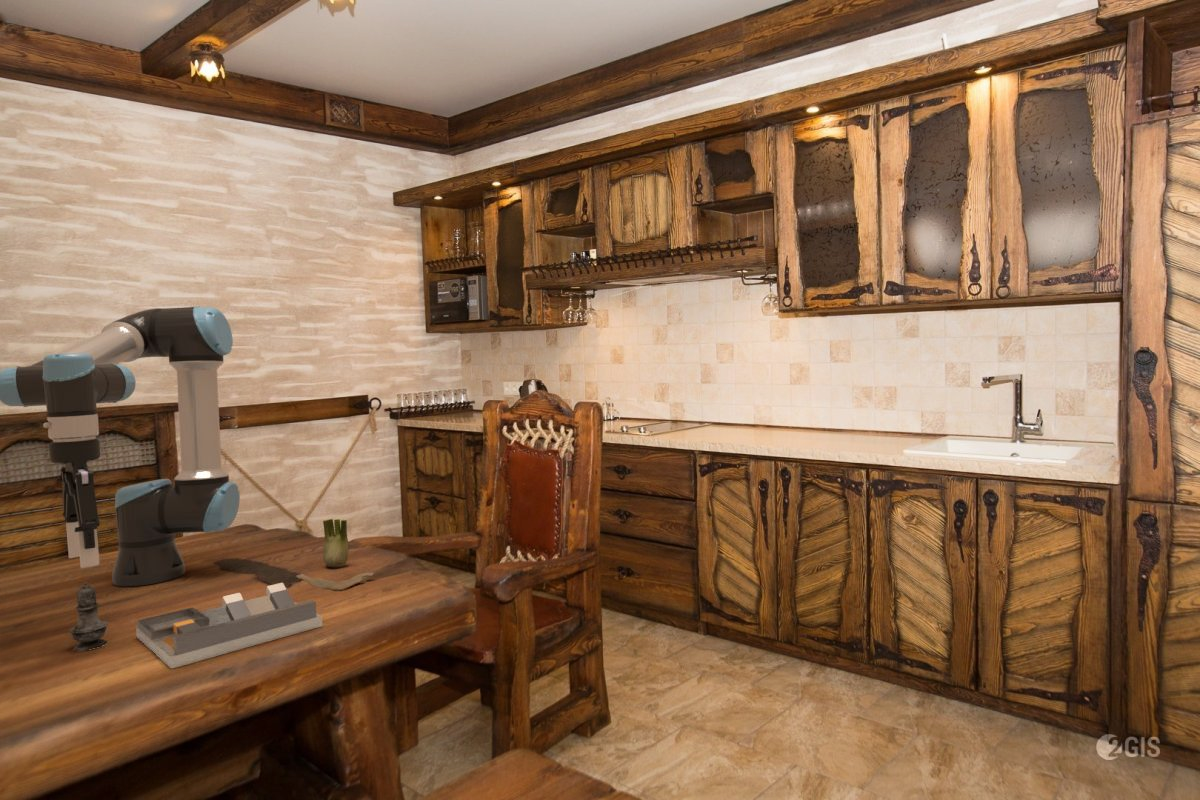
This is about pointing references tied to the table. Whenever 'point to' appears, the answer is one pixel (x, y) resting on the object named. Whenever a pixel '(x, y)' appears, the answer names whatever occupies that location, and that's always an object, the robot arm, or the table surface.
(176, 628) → the block
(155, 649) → the panel
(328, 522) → the fennel bulb
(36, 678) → the table surface
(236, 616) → the block
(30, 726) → the table surface
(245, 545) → the table surface
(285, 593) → the block
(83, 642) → the stone stupa figurine
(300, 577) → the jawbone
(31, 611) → the table surface
